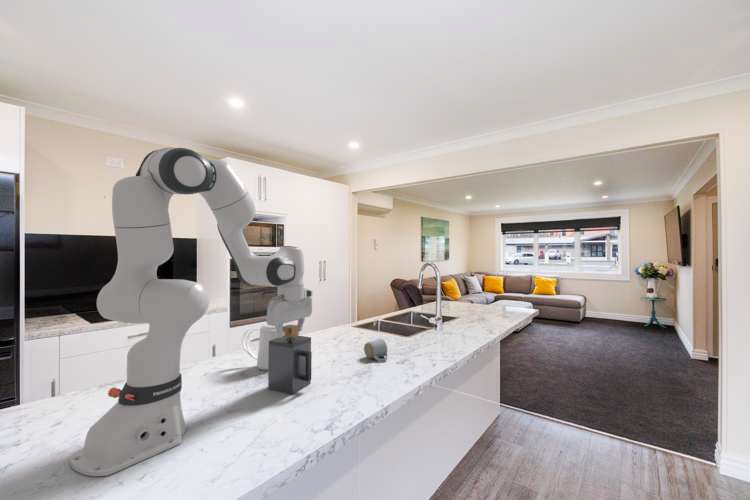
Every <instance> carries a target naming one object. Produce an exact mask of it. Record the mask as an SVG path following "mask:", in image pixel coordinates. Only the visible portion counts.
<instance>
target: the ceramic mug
mask: <svg viewBox="0 0 750 500" xmlns="http://www.w3.org/2000/svg"><path fill="white" fill-rule="evenodd" d="M363 351H364V355H365V357H367V359H369V360H370V359H371V360H373V359H374V360H375V361H377V362H381V363H382V362H386V361H387V359H388V345H387V342H386V341H385V340H384V338H378V339H375V340H371V341H368V342H366V343H365V344H364V347H363ZM384 357H385V358H384Z"/></svg>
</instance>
